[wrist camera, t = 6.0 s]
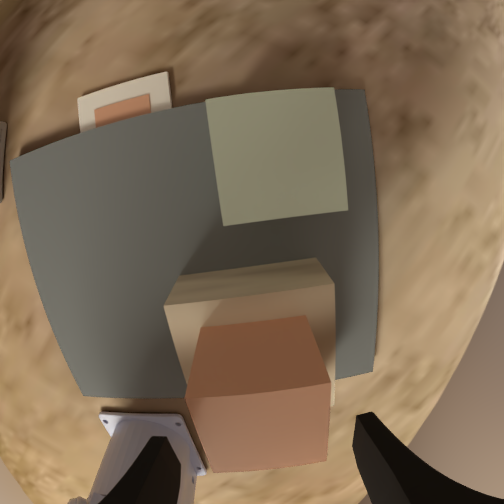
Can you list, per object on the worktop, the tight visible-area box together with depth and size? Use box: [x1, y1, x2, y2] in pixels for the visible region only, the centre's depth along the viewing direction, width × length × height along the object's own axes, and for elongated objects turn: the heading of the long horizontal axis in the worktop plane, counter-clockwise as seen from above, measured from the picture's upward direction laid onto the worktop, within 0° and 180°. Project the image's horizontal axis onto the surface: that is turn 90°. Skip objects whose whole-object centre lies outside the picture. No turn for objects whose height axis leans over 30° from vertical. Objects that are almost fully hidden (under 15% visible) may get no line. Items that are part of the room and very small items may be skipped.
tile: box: [78, 71, 173, 133], centre depth 16 cm, size 6×6×1 cm
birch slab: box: [164, 257, 336, 406], centre depth 17 cm, size 8×8×4 cm
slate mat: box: [10, 89, 379, 398], centre depth 18 cm, size 19×23×1 cm
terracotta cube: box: [185, 315, 331, 473], centre depth 13 cm, size 5×5×5 cm
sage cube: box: [205, 87, 348, 226], centre depth 14 cm, size 5×5×5 cm
